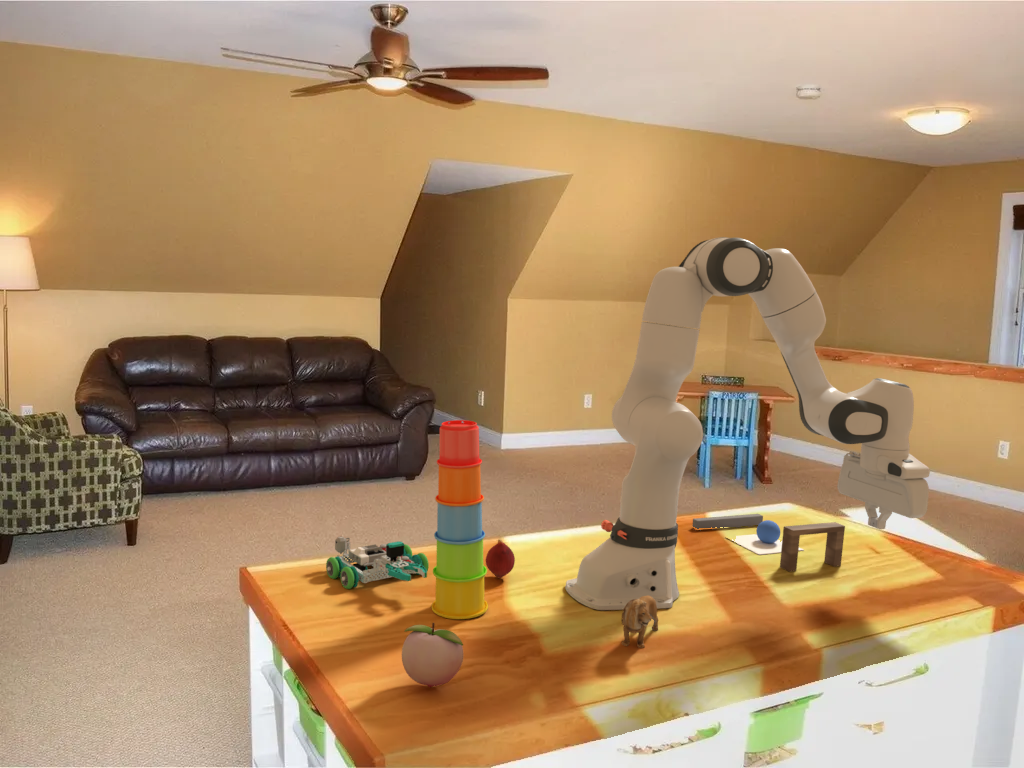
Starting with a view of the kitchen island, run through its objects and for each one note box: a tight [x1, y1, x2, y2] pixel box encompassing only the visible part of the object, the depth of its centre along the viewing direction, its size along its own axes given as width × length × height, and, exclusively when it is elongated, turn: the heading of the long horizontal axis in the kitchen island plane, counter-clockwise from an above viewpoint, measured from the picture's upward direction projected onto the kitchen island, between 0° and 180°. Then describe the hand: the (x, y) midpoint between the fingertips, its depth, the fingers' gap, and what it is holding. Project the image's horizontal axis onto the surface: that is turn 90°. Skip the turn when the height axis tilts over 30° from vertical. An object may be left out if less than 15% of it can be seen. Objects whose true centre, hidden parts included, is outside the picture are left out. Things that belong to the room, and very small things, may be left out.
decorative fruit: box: [401, 622, 464, 688], centre depth 127 cm, size 9×8×10 cm
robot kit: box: [325, 536, 430, 590], centre depth 169 cm, size 19×25×9 cm
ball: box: [756, 519, 781, 544], centre depth 207 cm, size 6×6×6 cm
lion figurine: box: [621, 595, 659, 649], centre depth 149 cm, size 15×5×9 cm, turn 162°
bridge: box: [779, 521, 846, 572], centre depth 191 cm, size 3×14×9 cm, turn 113°
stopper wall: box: [691, 513, 764, 529], centre depth 219 cm, size 20×2×2 cm, turn 113°
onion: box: [485, 538, 516, 579], centre depth 174 cm, size 6×6×8 cm
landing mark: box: [731, 533, 805, 556], centre depth 206 cm, size 13×13×1 cm
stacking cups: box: [431, 419, 489, 620], centre depth 156 cm, size 10×10×35 cm
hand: (876, 527), depth 175 cm, fingers closed
